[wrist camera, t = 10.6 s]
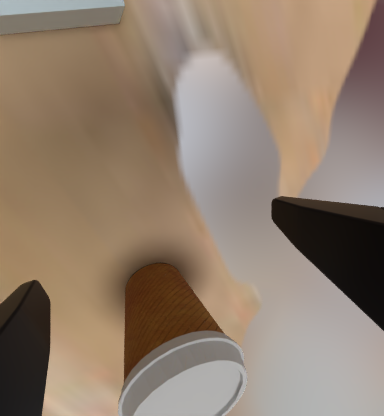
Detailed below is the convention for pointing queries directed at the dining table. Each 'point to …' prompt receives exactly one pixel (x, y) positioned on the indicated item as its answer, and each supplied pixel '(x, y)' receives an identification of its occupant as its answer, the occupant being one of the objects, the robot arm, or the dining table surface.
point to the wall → (57, 14)
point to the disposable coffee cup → (175, 351)
